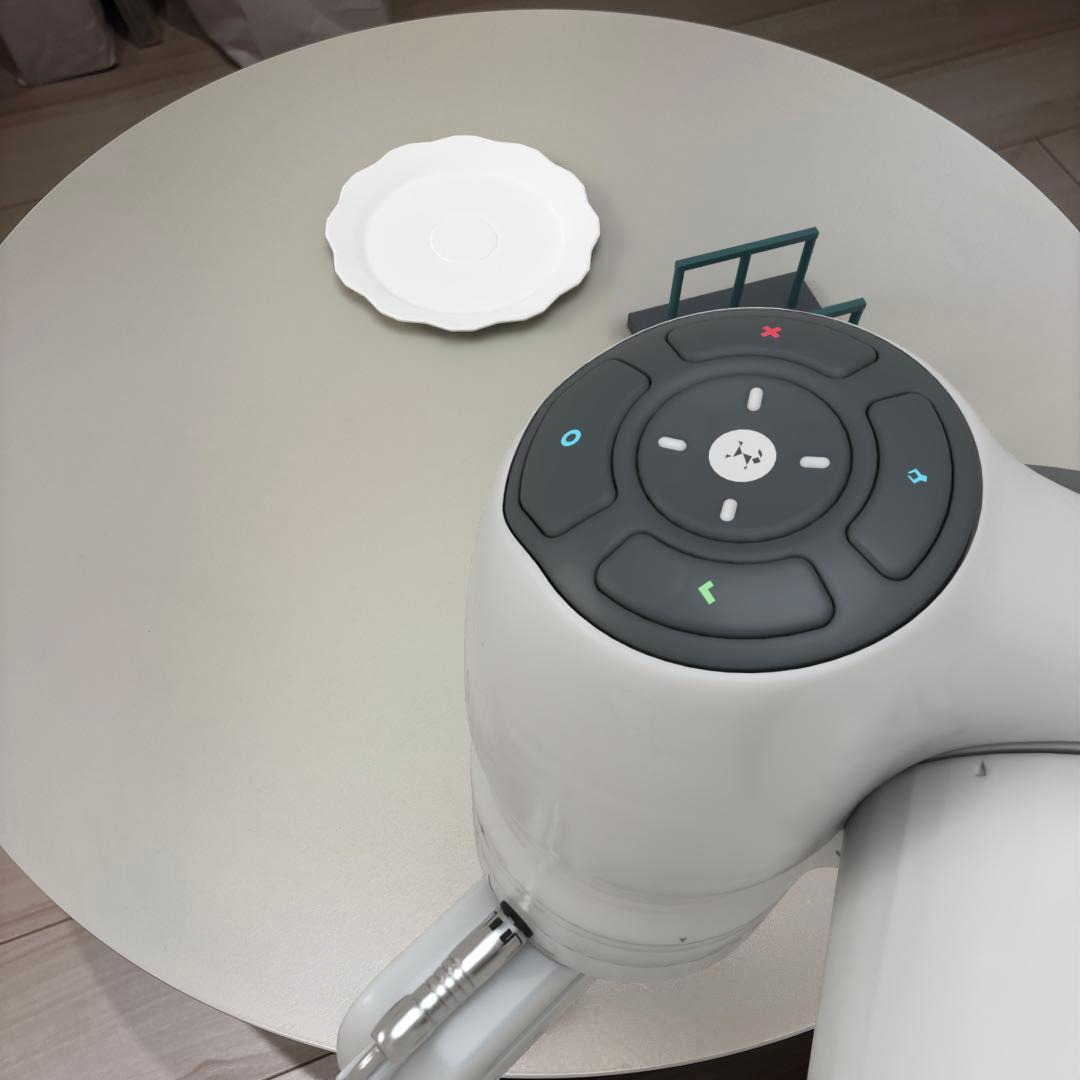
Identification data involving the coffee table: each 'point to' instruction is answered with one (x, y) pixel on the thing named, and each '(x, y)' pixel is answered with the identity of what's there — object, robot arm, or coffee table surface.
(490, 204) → the plate
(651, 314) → the rack
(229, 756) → the coffee table surface
